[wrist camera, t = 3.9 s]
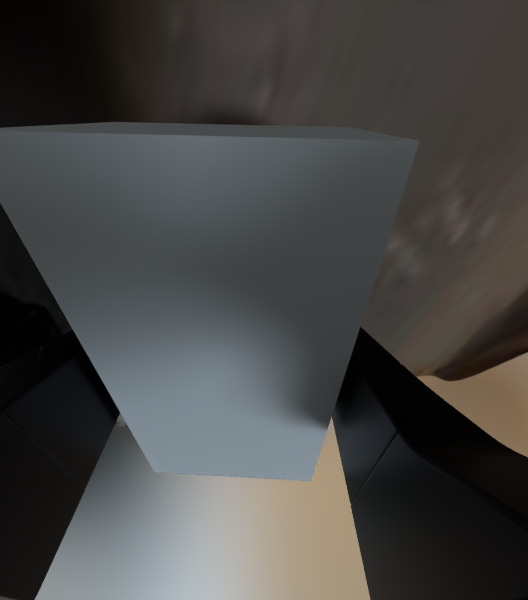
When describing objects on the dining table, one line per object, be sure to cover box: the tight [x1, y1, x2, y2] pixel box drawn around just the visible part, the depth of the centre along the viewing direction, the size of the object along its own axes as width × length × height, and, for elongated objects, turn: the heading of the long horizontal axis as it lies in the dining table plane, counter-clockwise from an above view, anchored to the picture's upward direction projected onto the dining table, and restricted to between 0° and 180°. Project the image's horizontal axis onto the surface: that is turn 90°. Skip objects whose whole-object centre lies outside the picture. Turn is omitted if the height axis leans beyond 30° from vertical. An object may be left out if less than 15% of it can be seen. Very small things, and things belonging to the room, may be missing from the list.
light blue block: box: [0, 122, 420, 481], centre depth 8 cm, size 11×6×4 cm, turn 179°
